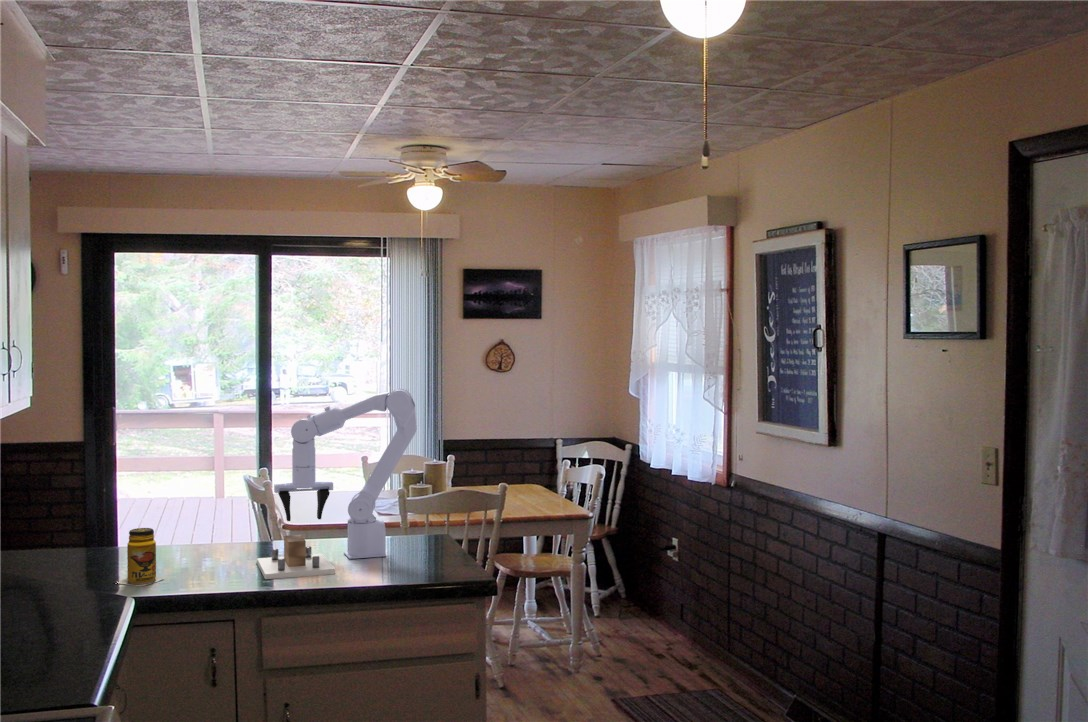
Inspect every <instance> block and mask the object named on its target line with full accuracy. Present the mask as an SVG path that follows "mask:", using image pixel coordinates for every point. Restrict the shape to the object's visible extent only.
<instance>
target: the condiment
mask: <svg viewBox="0 0 1088 722" xmlns="http://www.w3.org/2000/svg"><path fill="white" fill-rule="evenodd" d="M154 533H155V530H154V529H153V528H151V527H138V528H133V529H131V530H129V531H128V535H129V536H128V542H127V543H126V544H127V551H126V552H127V556H126V557H127V558H126V559H127V562H126V564H127V567H126V568H127V571H126V572H127V578H125V579H122V580H118V581H119V582H118V581H116V582H117V583H118V584H117V583H116V584H117V585H119V584H121V585H128V586H135V587H145V586H148V585H152V584H155V583H157V582H160V581H163V580H165V578H162V577H157V544H156V543H157V542H156V540H155V534H154Z"/></svg>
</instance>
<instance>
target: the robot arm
mask: <svg viewBox="0 0 1088 722" xmlns="http://www.w3.org/2000/svg"><path fill="white" fill-rule="evenodd" d="M387 410H388V411H389V413H390V414H391V416H392V417H393V420H394V422H395V426H396V429H397V430H396V431H395V432H394V435H393V437H392V438H391V440H390V441H389V443H388V445H387V446H386V448H385V450H384V451H383V454H382V455H381V457H380V458H379V460H378V462H377V463H376V465H375V466H374V469H373V470H372V472H371V474H370V475H369V477H368V479H367V480H366V482H365V484H364V485H363V487H362V489H361V490H360V491H359V492H358V493H355V494H354V495H353V497H352V498H351V501H350V502H349V504H348V506H347V512H348V513H347V514H348V516H349V517H348V518H347V550H345V551H343V554H344V555H345V556H346V557H347V558H348V559H349V560H351V559H352V560H353V559H355V560H356V559H364V558H365V559H366V558H380V557H387V552H386V550H387V548H386V547H387V546H386V545H387V544H386V542H387V541H386V540H387V539H386V537H387V535H386V524H385V520H384V519H377V516H375V515H374V514H373V513H374V510H375V508H376V501H377V499H378V498H379V496H380V493H382V490H383V488H384V487H385V485H386V484H387V482H388V480H389V479H390V478H391V475H392V474H393V472H394V470H395V468H396V467H397V466H398V463H399V461H400V460H401V459H402V456H403V455H404V453H406V450H407V448H408V446H409V445H410V444H411V441H412V439H413V438H414V436H415V434H416V432H417V427H418V425H417V417H416V416H417V413H416V404H415V401H414V398H413V396H412V394H411V393H410V392H409V391H408V390H407V389H404V388H396V389H394V390H392V391H385V392H382V393H378V394H374V395H372V396H369V397H367V398H365V399H362V400H360V401H358V402H355V403H353V404H351V405H349V406H345V407H344V408H339V407H336V406H330V405H329V406H326V407H324V410H322V411H320V412H317V413H314V414H311V413H310V414H307V415H306V418H302V419H299V420H297V421H296V422H294V423H293V424H292V427H291V429H290V433H291V437H292V449H291V450H292V453H291V455H292V459H291V461H292V463H291V465H292V467H291V468H292V471H291V472H292V477H291V478H292V480H291V481H292V482H290V483H289V482H288V483H287V482H286V483H277V484H274V485H273V491H274V493H275V494H278V496H279V499H280V500H281V503H282V506H283V509H284V513H285V517H286V521H287V522H291V495H290V494H291V492H292V493H293V492H294V493H297V492H312V491H313V492H314V491H316V497H317V500H316V501H317V507H316V508H317V510H316V517H317V519H318V520H322V515H323V511H324V508H325V505H326V502H327V500H328V498H329V497H330V491H334V482H333V481H316V447H315V442H316V441H315V440H316V439H315V437H321V436H324V435H326V434H329V433H331V432H334V431H337V430H339V429H342V428H343V427H344V426H345V424H346V421H348V420H351V419H353V418H356V417H358V416H359V417H360V416H361V415H364V414H368V413H370V412H372V411H380V412H386V411H387Z"/></svg>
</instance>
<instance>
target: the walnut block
mask: <svg viewBox="0 0 1088 722" xmlns="http://www.w3.org/2000/svg"><path fill="white" fill-rule="evenodd" d="M306 542H307V541H306V539H305V538H304V537H303V535H302V534H295V535H294V534H293V535H291V534H290V535H289V534H288V535H283V546H284V548H283V556H284V559H285V562H286V564H287V565H288V567H295V566H306V547H307V544H306Z"/></svg>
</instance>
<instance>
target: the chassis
mask: <svg viewBox="0 0 1088 722" xmlns="http://www.w3.org/2000/svg"><path fill="white" fill-rule="evenodd" d="M256 564H257V567H258V568H259V570H260V572H261V574H262V576H263V578H264V579H265V580H274V579H276V580H277V579H285V578H298V577H301V578H302V577H310V576H311V577H313V576H323V575H335V574H336V568H335V566H333V564H332V563H331V562H330V561H329V560H328V559H327V557H326V556H325V555H324V554H323V553H314V554H312V546H306V566H295V567H288V565H287V564H286V562H285V559H284V555H283V556H279V549H278V548H271V557H258V558H256Z"/></svg>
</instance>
